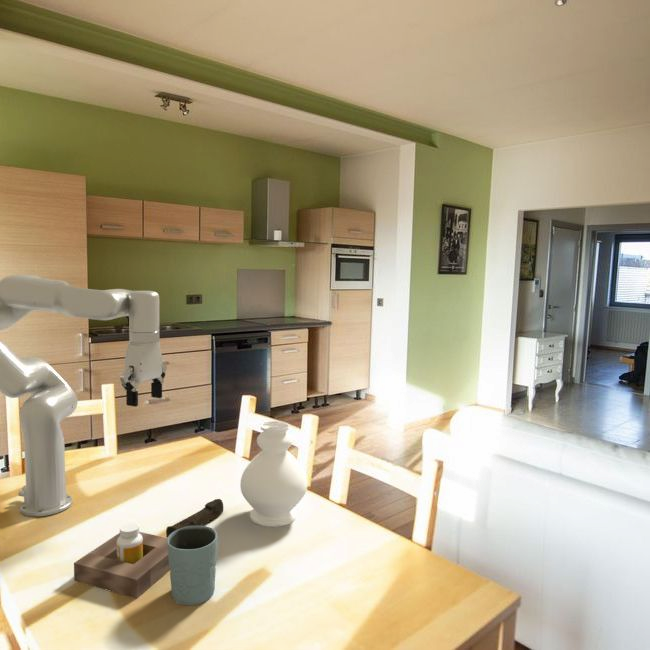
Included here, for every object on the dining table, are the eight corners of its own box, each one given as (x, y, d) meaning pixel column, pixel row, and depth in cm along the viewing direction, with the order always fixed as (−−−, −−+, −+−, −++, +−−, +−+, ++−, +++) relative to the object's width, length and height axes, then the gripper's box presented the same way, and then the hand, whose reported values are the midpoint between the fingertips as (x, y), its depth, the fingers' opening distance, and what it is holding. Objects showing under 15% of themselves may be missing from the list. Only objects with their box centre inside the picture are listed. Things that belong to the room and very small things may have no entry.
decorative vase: (265, 539, 133) (266, 440, 130) (227, 513, 146) (227, 423, 143) (320, 518, 145) (322, 427, 142) (280, 495, 158) (281, 412, 155)
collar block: (74, 580, 114) (73, 563, 113) (126, 544, 129) (125, 528, 128) (137, 598, 108) (136, 579, 108) (183, 558, 123) (183, 541, 123)
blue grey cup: (192, 614, 104) (191, 555, 103) (156, 596, 109) (155, 539, 108) (227, 588, 113) (228, 533, 111) (193, 572, 118) (192, 520, 117)
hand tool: (176, 545, 129) (176, 527, 129) (165, 540, 132) (165, 522, 131) (230, 515, 145) (230, 499, 145) (219, 511, 147) (219, 495, 147)
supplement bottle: (148, 565, 120) (147, 524, 119) (132, 578, 115) (131, 535, 114) (128, 560, 122) (127, 519, 121) (111, 573, 117) (110, 530, 116)
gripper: (154, 333, 151) (154, 393, 153) (109, 340, 135) (110, 407, 137) (176, 335, 149) (176, 396, 151) (133, 343, 133) (133, 411, 135)
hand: (144, 401), depth 144 cm, fingers open, 9 cm apart
